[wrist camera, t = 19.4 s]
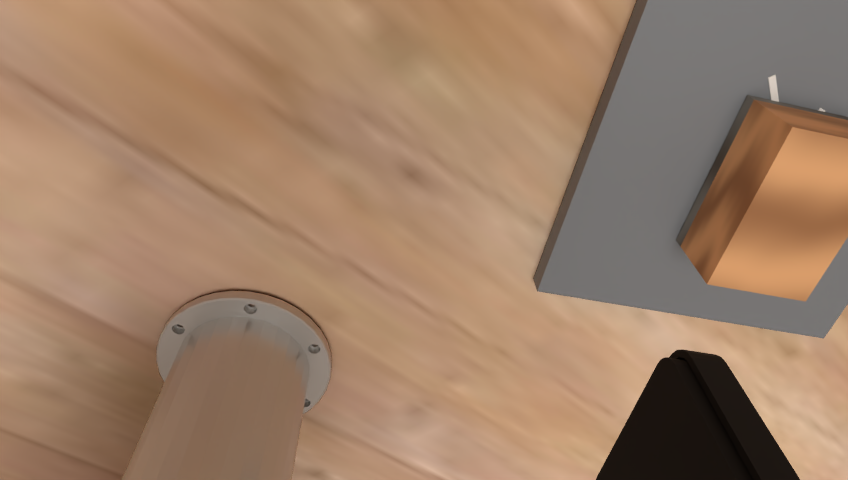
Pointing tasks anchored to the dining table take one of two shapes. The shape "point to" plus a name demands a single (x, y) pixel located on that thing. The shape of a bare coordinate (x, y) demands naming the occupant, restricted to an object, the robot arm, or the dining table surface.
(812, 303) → the board
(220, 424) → the robot arm
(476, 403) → the dining table surface
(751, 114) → the block
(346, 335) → the dining table surface
